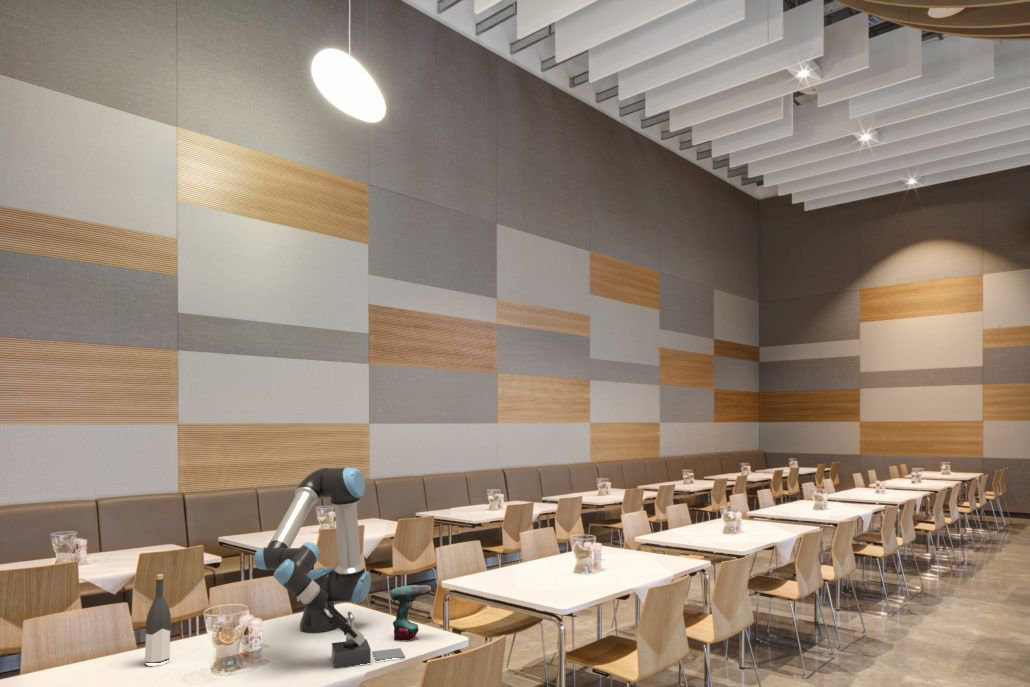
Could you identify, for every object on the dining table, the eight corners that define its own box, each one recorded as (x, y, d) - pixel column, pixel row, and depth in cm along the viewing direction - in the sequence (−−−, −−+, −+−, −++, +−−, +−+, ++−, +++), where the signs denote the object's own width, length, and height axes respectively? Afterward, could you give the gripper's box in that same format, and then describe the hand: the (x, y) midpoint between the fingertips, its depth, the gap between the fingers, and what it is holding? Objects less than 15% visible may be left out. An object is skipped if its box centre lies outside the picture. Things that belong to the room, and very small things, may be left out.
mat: (372, 653, 254) (372, 651, 254) (400, 650, 257) (400, 647, 257) (376, 662, 245) (376, 660, 245) (405, 658, 248) (405, 656, 248)
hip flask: (345, 651, 250) (345, 612, 251) (353, 650, 251) (353, 611, 252) (347, 658, 243) (347, 617, 244) (356, 657, 244) (356, 616, 245)
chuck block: (331, 657, 251) (331, 643, 251) (366, 653, 255) (366, 639, 255) (334, 668, 239) (334, 653, 240) (370, 664, 243) (370, 648, 244)
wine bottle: (165, 657, 255) (167, 571, 258) (173, 662, 249) (176, 574, 253) (141, 663, 250) (143, 575, 253) (148, 668, 244) (151, 578, 247)
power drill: (428, 642, 265) (428, 587, 268) (387, 641, 269) (387, 586, 271) (434, 636, 272) (434, 583, 275) (394, 635, 276) (394, 582, 278)
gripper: (304, 599, 252) (352, 643, 255) (305, 610, 237) (356, 656, 240) (319, 582, 254) (367, 626, 257) (322, 592, 239) (372, 638, 242)
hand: (361, 640), depth 249 cm, fingers closed on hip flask, 3 cm apart
